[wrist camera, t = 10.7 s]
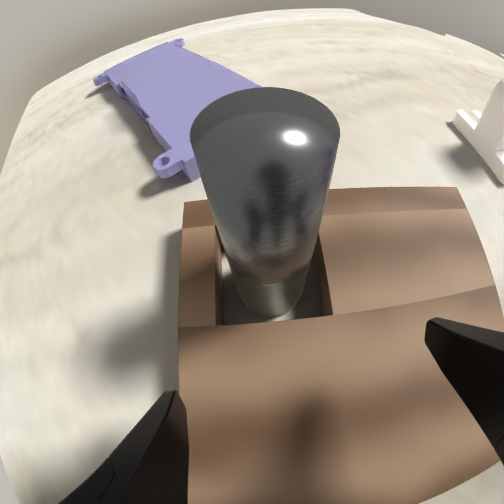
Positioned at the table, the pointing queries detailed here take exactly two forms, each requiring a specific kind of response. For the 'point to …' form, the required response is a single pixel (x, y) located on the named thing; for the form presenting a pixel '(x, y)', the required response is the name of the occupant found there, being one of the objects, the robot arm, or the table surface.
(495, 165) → the cable organizer
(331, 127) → the stool leg
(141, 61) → the computer part
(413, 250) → the walnut stool seat
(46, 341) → the table surface
